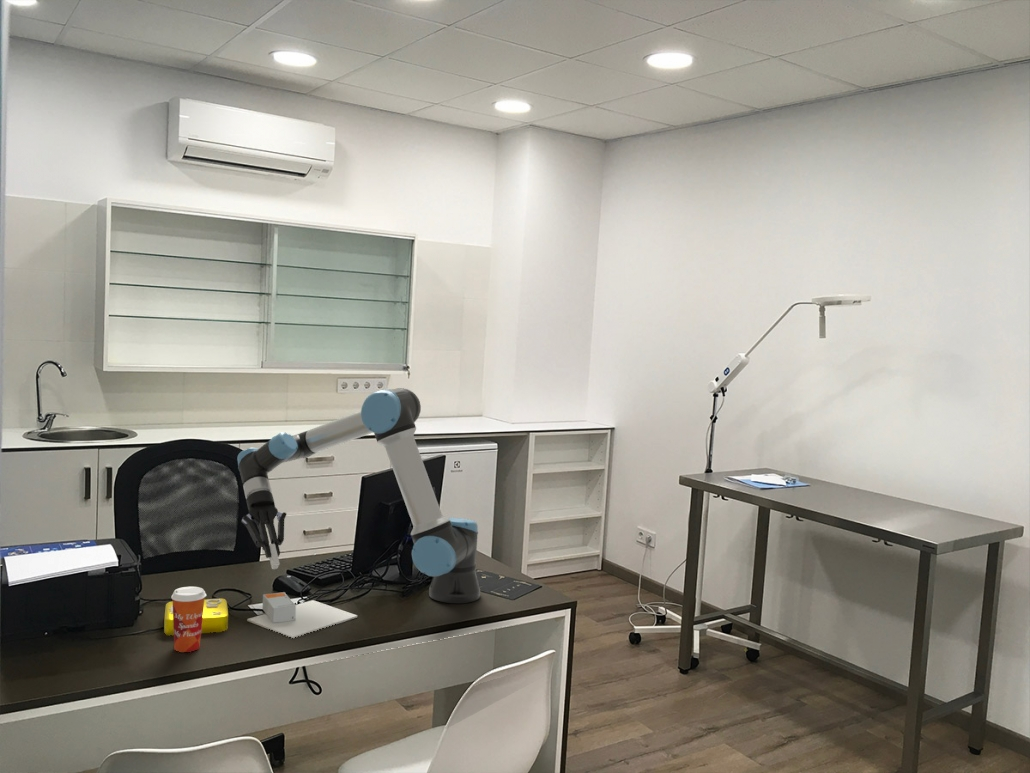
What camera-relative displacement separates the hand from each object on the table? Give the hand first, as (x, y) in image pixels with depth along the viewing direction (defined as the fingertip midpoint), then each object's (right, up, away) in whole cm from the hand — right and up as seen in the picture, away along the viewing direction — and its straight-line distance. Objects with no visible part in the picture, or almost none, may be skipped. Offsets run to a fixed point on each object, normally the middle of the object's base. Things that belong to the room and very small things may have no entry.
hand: (275, 566), depth 238 cm
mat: (+11, -11, -12) cm, 20 cm away
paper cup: (-11, -12, -36) cm, 40 cm away
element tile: (-15, -11, -20) cm, 27 cm away
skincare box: (+1, -8, -6) cm, 10 cm away
